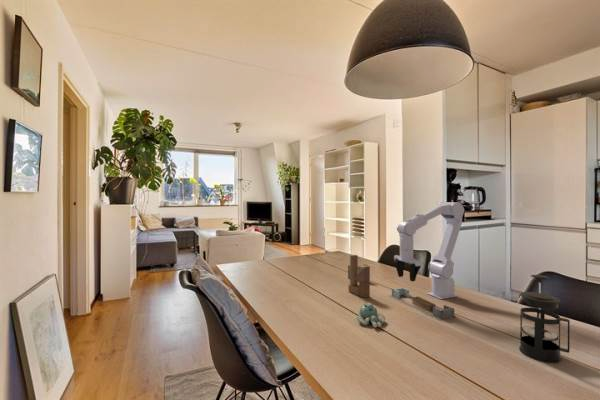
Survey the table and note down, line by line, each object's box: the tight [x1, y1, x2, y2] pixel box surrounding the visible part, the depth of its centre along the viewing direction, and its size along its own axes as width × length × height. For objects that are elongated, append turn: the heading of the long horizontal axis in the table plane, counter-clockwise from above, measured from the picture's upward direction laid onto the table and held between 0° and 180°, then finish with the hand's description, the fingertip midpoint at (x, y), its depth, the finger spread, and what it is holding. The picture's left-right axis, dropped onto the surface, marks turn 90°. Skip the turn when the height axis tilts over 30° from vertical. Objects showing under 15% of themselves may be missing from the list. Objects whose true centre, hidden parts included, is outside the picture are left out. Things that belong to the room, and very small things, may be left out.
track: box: [388, 294, 457, 321], centre depth 123 cm, size 9×29×1 cm, turn 21°
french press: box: [518, 274, 571, 364], centre depth 84 cm, size 12×9×23 cm
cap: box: [391, 286, 410, 299], centre depth 134 cm, size 6×4×3 cm, turn 111°
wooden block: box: [348, 254, 371, 299], centre depth 137 cm, size 4×11×18 cm, turn 33°
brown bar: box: [411, 296, 437, 313], centre depth 121 cm, size 3×10×3 cm, turn 19°
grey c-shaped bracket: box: [432, 304, 455, 321], centre depth 112 cm, size 6×4×3 cm, turn 111°
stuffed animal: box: [356, 303, 386, 329], centre depth 106 cm, size 11×7×12 cm
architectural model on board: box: [347, 263, 369, 282], centre depth 162 cm, size 11×3×10 cm, turn 48°
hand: (406, 278), depth 130 cm, fingers open, 7 cm apart
